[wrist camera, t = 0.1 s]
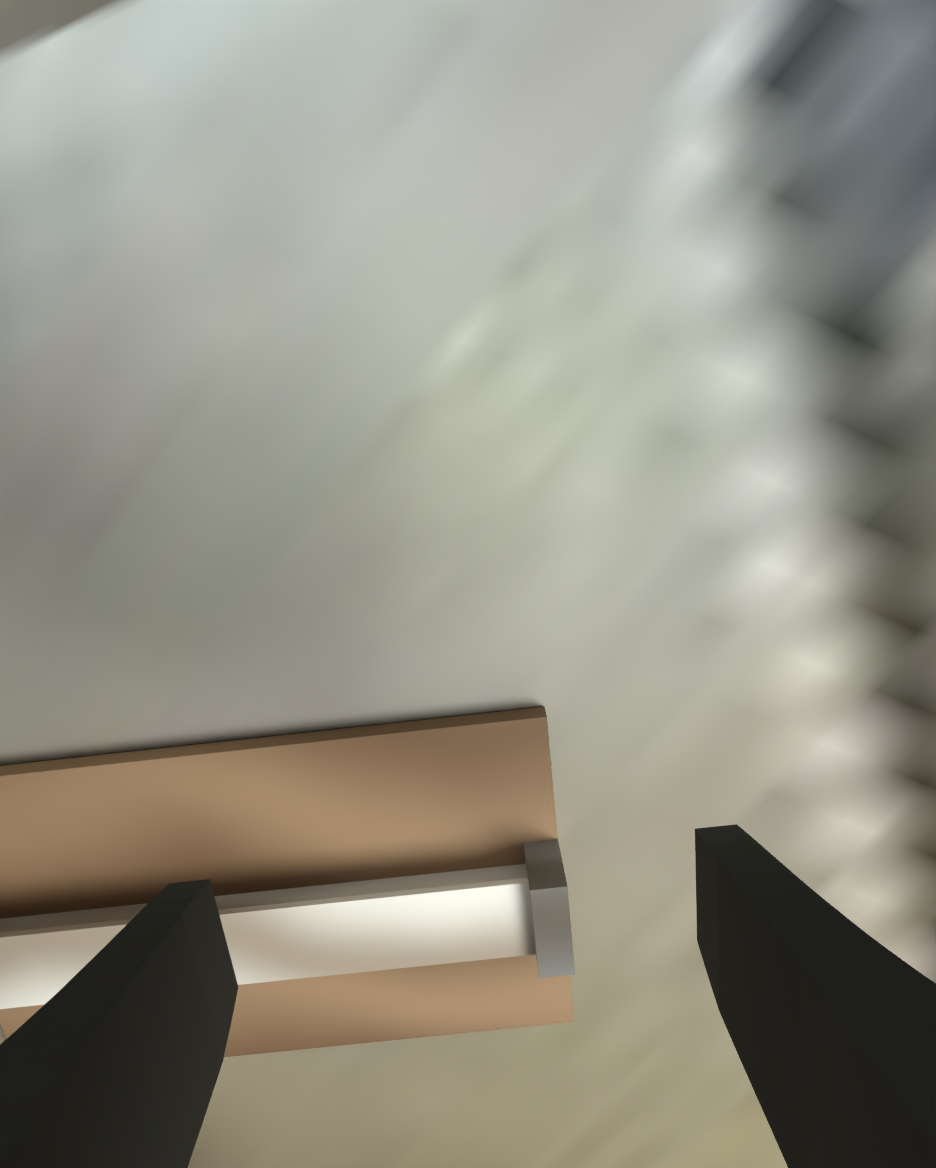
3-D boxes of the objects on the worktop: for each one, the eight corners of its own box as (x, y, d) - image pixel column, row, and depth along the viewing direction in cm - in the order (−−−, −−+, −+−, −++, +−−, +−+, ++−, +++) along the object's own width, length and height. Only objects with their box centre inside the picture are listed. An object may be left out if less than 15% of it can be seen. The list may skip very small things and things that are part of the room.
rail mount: (571, 1006, 25) (585, 1090, 22) (31, 1060, 25) (-21, 1150, 22) (544, 706, 21) (557, 761, 19) (-81, 774, 22) (-159, 838, 19)
